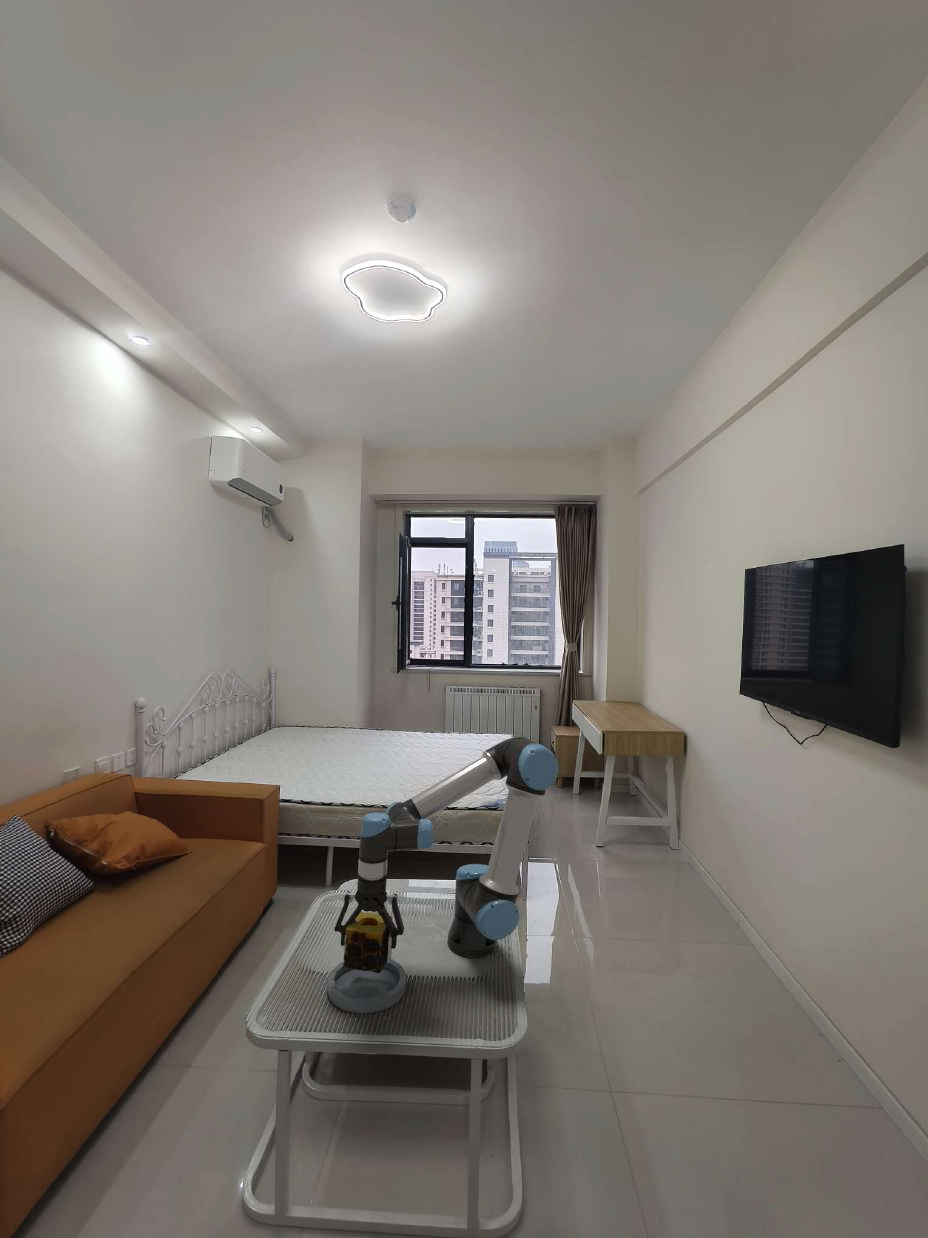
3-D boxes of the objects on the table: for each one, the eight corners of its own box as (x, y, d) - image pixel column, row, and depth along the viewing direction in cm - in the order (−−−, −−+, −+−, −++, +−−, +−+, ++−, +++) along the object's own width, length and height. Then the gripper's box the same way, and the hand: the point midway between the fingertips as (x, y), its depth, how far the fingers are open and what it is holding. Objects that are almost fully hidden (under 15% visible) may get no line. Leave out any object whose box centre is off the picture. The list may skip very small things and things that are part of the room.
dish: (408, 968, 164) (409, 957, 164) (400, 1015, 144) (401, 1003, 144) (337, 964, 164) (337, 954, 164) (319, 1012, 144) (320, 999, 144)
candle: (380, 975, 148) (382, 935, 148) (342, 968, 150) (344, 929, 150) (392, 953, 158) (394, 915, 158) (356, 947, 160) (358, 910, 160)
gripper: (417, 871, 158) (413, 953, 158) (331, 866, 158) (327, 948, 158) (415, 883, 150) (410, 969, 150) (325, 878, 150) (320, 964, 150)
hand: (367, 959), depth 154 cm, fingers closed on candle, 11 cm apart
